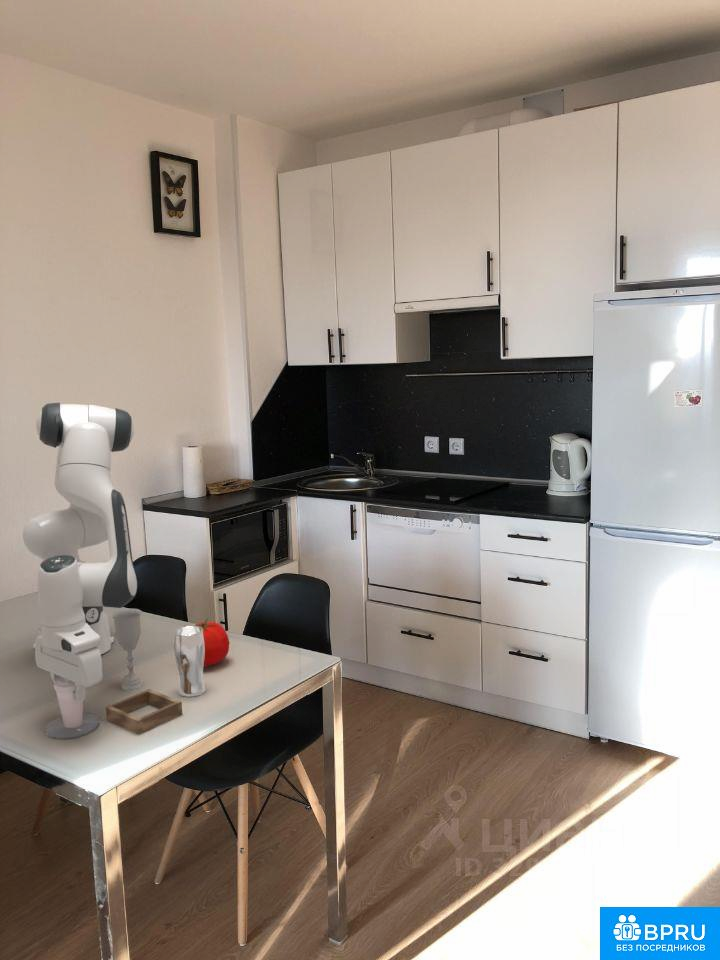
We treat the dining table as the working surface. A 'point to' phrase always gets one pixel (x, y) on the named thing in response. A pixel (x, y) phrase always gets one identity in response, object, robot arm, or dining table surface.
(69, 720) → the smoothie
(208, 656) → the tomato
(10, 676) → the dining table surface
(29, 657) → the dining table surface
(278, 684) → the dining table surface
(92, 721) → the disc
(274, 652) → the dining table surface
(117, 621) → the chalice
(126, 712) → the wooden serving tray
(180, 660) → the beer glass
